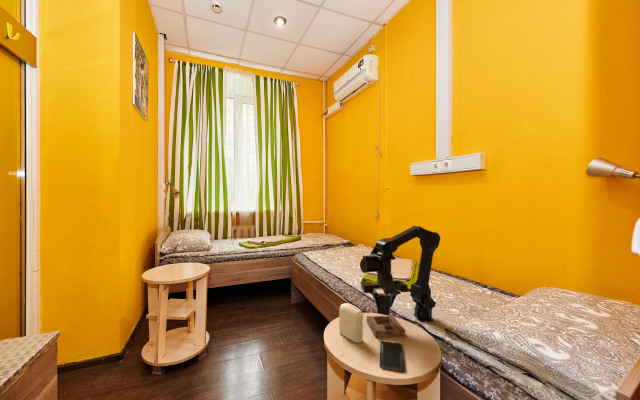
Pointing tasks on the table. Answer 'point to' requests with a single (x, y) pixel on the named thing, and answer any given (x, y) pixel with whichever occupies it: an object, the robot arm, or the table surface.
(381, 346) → the phone
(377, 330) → the slot board
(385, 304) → the ink cartridge
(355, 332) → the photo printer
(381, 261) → the robot arm
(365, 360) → the table surface
